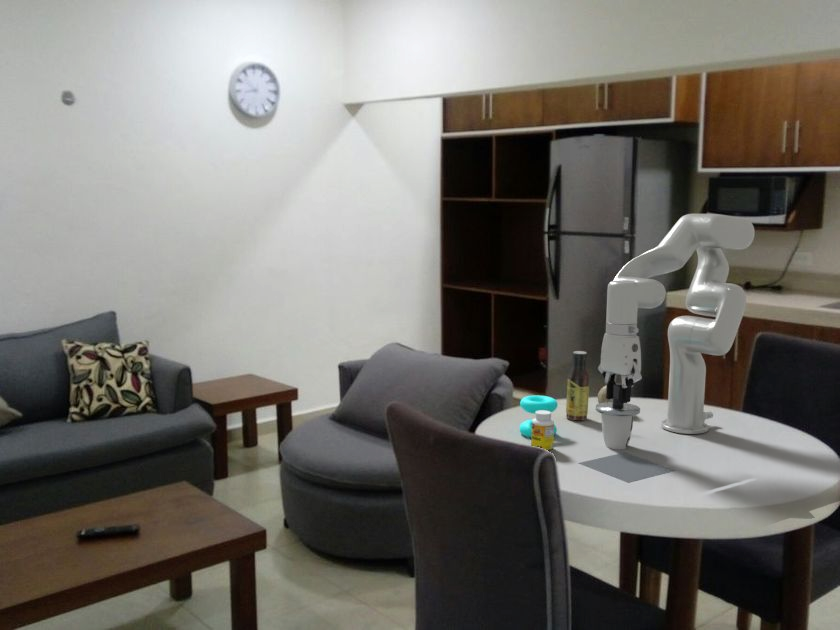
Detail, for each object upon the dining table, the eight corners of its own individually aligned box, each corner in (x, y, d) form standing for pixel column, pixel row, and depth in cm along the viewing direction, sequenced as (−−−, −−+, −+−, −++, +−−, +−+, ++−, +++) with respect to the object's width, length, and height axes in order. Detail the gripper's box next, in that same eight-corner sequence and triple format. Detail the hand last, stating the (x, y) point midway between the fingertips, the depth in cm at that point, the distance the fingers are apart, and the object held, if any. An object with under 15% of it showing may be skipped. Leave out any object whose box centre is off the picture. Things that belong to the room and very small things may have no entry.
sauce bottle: (563, 416, 242) (565, 349, 239) (583, 415, 242) (586, 349, 240) (569, 422, 235) (571, 354, 232) (590, 421, 236) (593, 353, 233)
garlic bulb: (625, 423, 244) (636, 394, 240) (598, 419, 243) (608, 390, 238) (616, 406, 252) (626, 378, 248) (590, 402, 251) (600, 374, 247)
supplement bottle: (526, 449, 210) (527, 410, 208) (545, 447, 212) (546, 408, 210) (538, 455, 205) (540, 416, 203) (557, 453, 207) (558, 413, 205)
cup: (635, 453, 207) (637, 414, 206) (603, 452, 207) (605, 414, 206) (628, 443, 215) (629, 406, 214) (597, 443, 215) (598, 406, 214)
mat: (625, 454, 206) (625, 452, 206) (676, 472, 193) (676, 470, 193) (578, 465, 197) (578, 463, 197) (628, 485, 184) (628, 482, 184)
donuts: (520, 402, 217) (519, 393, 227) (519, 439, 219) (519, 428, 229) (558, 403, 216) (556, 394, 226) (557, 440, 218) (555, 430, 228)
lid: (616, 402, 217) (617, 377, 216) (649, 412, 208) (650, 385, 207) (586, 408, 211) (587, 382, 210) (619, 418, 202) (620, 391, 201)
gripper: (657, 333, 202) (653, 405, 205) (607, 324, 216) (604, 392, 218) (635, 335, 198) (632, 409, 201) (586, 326, 212) (584, 395, 214)
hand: (618, 399), depth 210 cm, fingers open, 4 cm apart
